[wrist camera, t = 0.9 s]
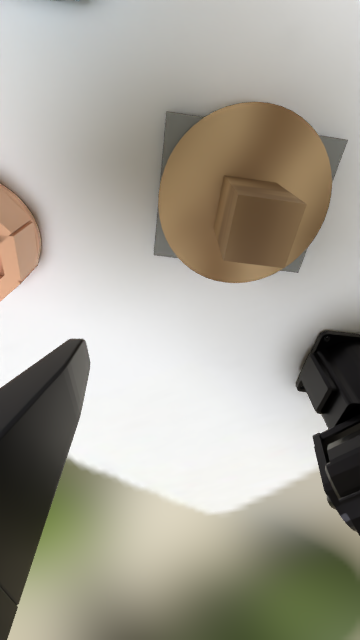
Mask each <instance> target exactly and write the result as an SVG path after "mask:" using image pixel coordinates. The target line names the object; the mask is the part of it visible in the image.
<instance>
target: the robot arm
mask: <svg viewBox="0 0 360 640" xmlns="http://www.w3.org/2000/svg"><path fill="white" fill-rule="evenodd" d="M327 336H328V337H327ZM325 337H327V338H325ZM89 371H90V359H89V354H88V349H87V345H86V342H85V340H84V339H69V340H67V341H66V342H65V343H63V344H62V345H60V346H59V347H58V348H56V349H55V350H53V351H52V352H51V353H49V354H48V355H46V356H45V357H44V358H42V359H41V360H39V361H38V362H36V363H35V364H34V365H32V366H31V367H29V368H28V369H27V370H25V371H24V372H22V373H21V374H20V375H18V376H17V377H15V378H14V379H13V380H11V381H10V382H8V383H7V384H6V385H4V386H3V387H1V388H0V640H7V638H8V635H9V632H10V629H11V626H12V623H13V619H14V617H15V614H16V611H17V608H18V607H17V605H18V604H19V601H20V598H21V595H22V592H23V589H24V586H25V583H26V580H27V577H28V574H29V571H30V567H31V565H32V562H33V559H34V556H35V553H36V549H37V546H38V543H39V540H40V537H41V534H42V531H43V528H44V525H45V522H46V519H47V516H48V513H49V510H50V507H51V504H52V501H53V498H54V495H55V491H56V489H57V486H58V482H59V479H60V476H61V473H62V470H63V467H64V464H65V461H66V458H67V455H68V452H69V449H70V446H71V443H72V440H73V437H74V434H75V431H76V428H77V425H78V422H79V418H80V415H81V410H82V406H83V401H84V396H85V391H86V386H87V381H88V376H89ZM296 387H297V390H298V391H301V392H307V394H308V396H309V398H310V400H311V403H312V405H313V407H314V409H315V411H316V412H317V413H318V414H322V416H323V419H324V421H325V423H326V425H327V427H328V430H326V431H324V432H322V433H317V434H316V435H314V436H313V440H314V445H315V446H314V448H315V452H316V457H317V461H318V465H319V470H320V474H321V478H322V483H323V487H324V491H325V493H326V494H327V501H328V503H329V505H330V506H331V507H332V508H334V509H336V510H337V511H338V513H339V514H340V516H341V517H342V519H343V520H344V521H345V522H346V524H347V525H348V526H349V527H350V528H351V529H353V530H354V531H356V532H358V533H359V535H360V334H351V333H342V332H332V331H324V332H322V333H320V335H319V337H318V339H317V341H316V343H315V345H314V347H313V349H312V351H311V353H310V354H309V356H308V358H307V360H306V362H305V364H304V366H303V368H302V370H301V373H300V375H299V379H298V381H297V383H296Z"/></svg>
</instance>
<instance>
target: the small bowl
mask: <svg viewBox="0 0 360 640" xmlns="http://www.w3.org/2000/svg"><path fill="white" fill-rule="evenodd" d="M40 252H41V238H40V232H39V229H38V226H37V224H36V221H35V219H34V217H33V215H32V214H31V212H30V211H29V209H28V208H27V206H26V205H25V204H24V203H23V202H22V201H21V199H20V198H19V197H18V196H16V195H15V194H14V193H13V192H12V191H11V190H9V189H8V188H7V187H5V186H4V185H2V184H0V301H1V300H3V299H4V298H5V297H6V296H7V295H8V294H9V293H10V292H12V291H13V290H14V289H15V288H16V287H17V286H18V285H20V284H21V283H22V282H23V280H24V279H25V278H26V277H27V276H28V275H29V274H30V273H31V272H32V271H33V270H34V269H35V268H36V267H37V264H38V263H39V262H38V259H39V256H40Z"/></svg>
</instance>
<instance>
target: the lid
mask: <svg viewBox="0 0 360 640" xmlns="http://www.w3.org/2000/svg"><path fill="white" fill-rule="evenodd" d="M331 189H332V174H331V167H330V162H329V157H328V155H327V152H326V149H325V146H324V145H323V143H322V141H321V139H320V137H319V136H318V134H317V133H316V132H315V130H314V129H313V128H312V126H311V125H309V124H308V123H307V122H306V121H305V120H304V119H303V118H302V117H300V116H299V115H297V114H296V113H294V112H293V111H291V110H288V109H286V108H284V107H282V106H278V105H274V104H270V103H263V102H248V103H239V104H235V105H231V106H227V107H224V108H222V109H219V110H217V111H214V112H213V113H211V114H209V115H207V116H206V117H204V118H203V119H201V120H200V121H199V122H197V123H196V124H195V125H194V126H192V127H191V128H190V129H189V130H188V131H187V132H186V133H185V135H184V136H183V137H182V138H181V140H180V141H179V142H178V143H177V145H176V146H175V148H174V150H173V151H172V153H171V155H170V157H169V159H168V161H167V164H166V166H165V168H164V172H163V176H162V179H161V183H160V189H159V203H158V207H159V217H160V222H161V226H162V230H163V232H164V235H165V238H166V240H167V242H168V244H169V245H170V247H171V249H172V250H173V252H174V253H175V254H176V256H177V257H178V258H179V259H180V260H181V261H182V262H183V263H184V264H185V265H186V266H188V267H189V268H190V269H191V270H193V271H195V272H196V273H198V274H200V275H202V276H204V277H206V278H209V279H212V280H216V281H221V282H228V283H242V282H250V281H255V280H258V279H262V278H265V277H267V276H270V275H272V274H274V273H276V272H278V271H280V270H282V269H283V268H285V267H286V266H288V265H289V264H291V263H292V262H293V261H294V260H295V259H297V258H298V257H299V256H300V255H301V254H302V253H303V252H304V251H305V250H306V248H307V247H308V246H309V245H310V243H311V242H312V241H313V239H314V238H315V236H316V235H317V233H318V231H319V230H320V228H321V226H322V224H323V221H324V219H325V217H326V214H327V210H328V207H329V203H330V198H331Z"/></svg>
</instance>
